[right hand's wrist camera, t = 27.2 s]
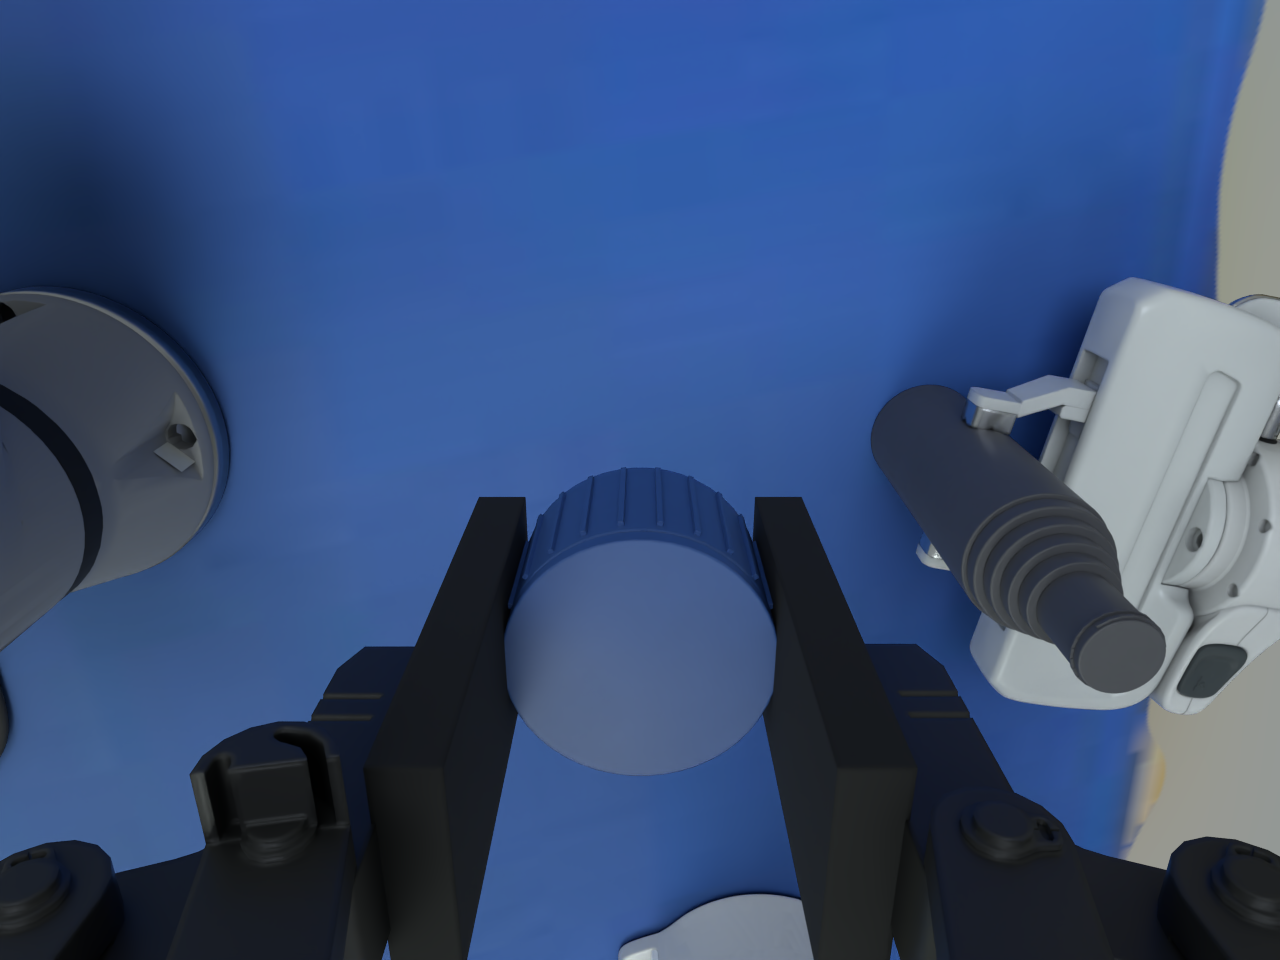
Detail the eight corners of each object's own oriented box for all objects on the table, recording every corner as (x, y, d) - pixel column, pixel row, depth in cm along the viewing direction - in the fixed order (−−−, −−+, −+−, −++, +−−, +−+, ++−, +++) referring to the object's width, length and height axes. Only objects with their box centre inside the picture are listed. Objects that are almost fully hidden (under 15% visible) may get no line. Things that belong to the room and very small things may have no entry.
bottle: (995, 448, 46) (1242, 679, 27) (901, 502, 48) (1075, 760, 28) (947, 363, 45) (1175, 545, 26) (851, 421, 46) (1000, 636, 27)
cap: (805, 527, 14) (838, 612, 12) (688, 707, 16) (697, 817, 13) (587, 420, 14) (573, 487, 11) (483, 618, 15) (452, 716, 13)
